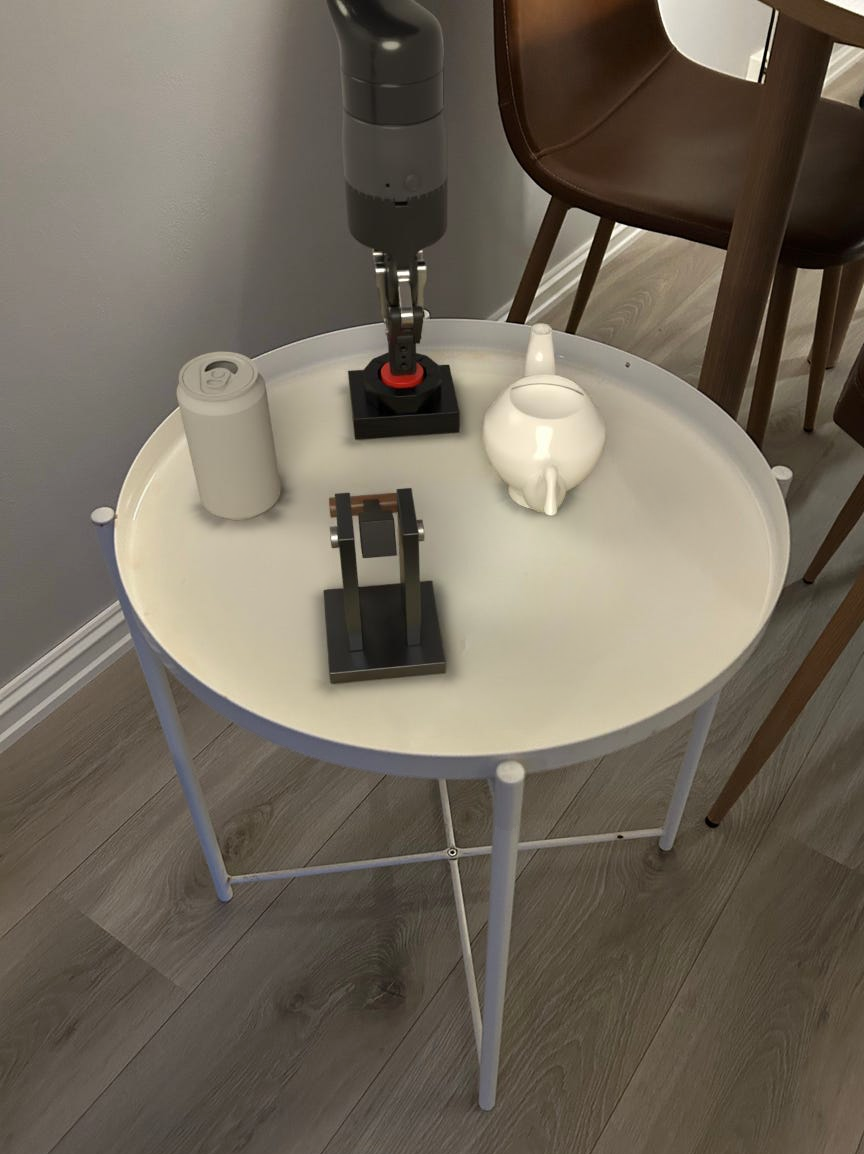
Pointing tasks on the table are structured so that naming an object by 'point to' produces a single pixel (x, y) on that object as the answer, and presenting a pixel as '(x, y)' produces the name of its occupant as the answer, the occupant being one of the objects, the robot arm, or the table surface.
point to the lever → (374, 523)
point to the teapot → (543, 430)
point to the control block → (403, 402)
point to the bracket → (382, 608)
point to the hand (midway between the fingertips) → (402, 370)
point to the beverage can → (229, 434)
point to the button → (401, 377)
